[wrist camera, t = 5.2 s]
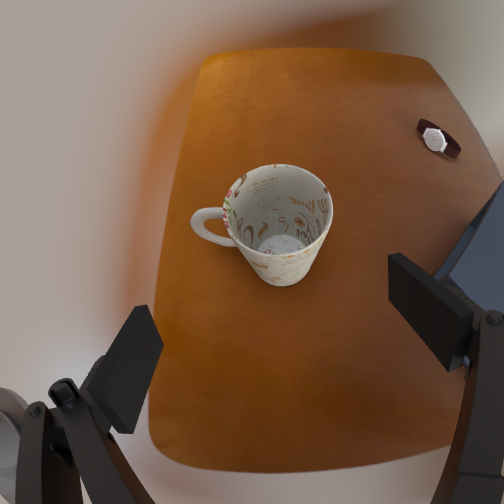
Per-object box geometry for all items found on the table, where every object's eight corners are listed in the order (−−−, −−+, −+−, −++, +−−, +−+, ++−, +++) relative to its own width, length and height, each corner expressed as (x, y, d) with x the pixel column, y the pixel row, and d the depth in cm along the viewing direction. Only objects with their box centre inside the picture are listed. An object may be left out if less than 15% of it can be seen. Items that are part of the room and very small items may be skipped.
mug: (319, 301, 29) (332, 261, 20) (197, 289, 31) (159, 246, 22) (323, 227, 32) (332, 166, 23) (212, 220, 34) (186, 162, 25)
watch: (409, 134, 37) (415, 116, 34) (424, 124, 38) (430, 107, 34) (448, 167, 34) (457, 150, 30) (461, 154, 34) (470, 138, 31)
